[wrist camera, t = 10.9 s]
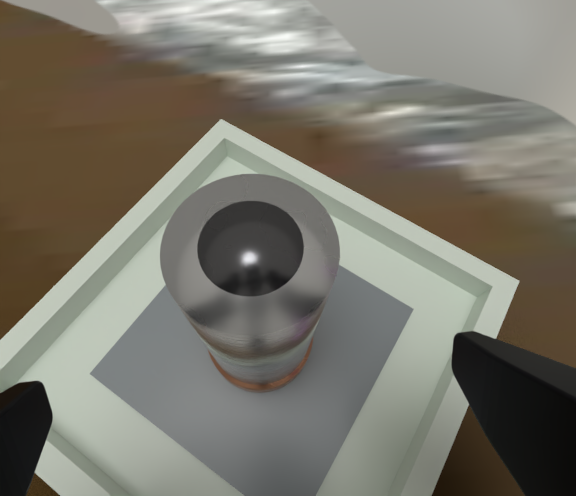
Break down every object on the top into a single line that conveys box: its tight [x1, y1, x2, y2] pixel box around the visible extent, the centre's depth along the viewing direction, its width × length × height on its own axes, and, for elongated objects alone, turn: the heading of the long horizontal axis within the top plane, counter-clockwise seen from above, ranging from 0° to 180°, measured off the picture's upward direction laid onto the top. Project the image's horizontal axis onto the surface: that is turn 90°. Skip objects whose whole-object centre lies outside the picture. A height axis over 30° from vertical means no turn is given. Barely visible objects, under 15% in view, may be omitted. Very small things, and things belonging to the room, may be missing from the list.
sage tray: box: [0, 119, 519, 496], centre depth 18 cm, size 18×18×2 cm
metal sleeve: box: [160, 174, 340, 393], centre depth 14 cm, size 5×5×10 cm
